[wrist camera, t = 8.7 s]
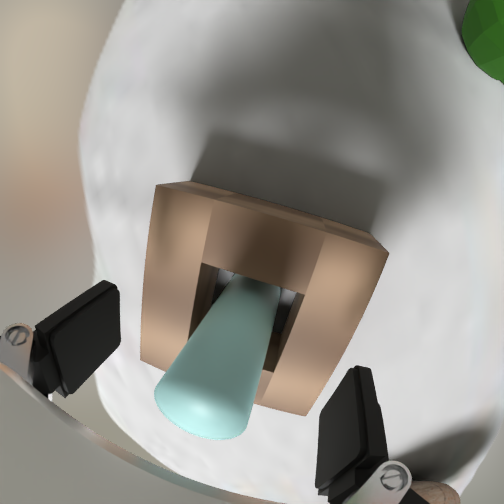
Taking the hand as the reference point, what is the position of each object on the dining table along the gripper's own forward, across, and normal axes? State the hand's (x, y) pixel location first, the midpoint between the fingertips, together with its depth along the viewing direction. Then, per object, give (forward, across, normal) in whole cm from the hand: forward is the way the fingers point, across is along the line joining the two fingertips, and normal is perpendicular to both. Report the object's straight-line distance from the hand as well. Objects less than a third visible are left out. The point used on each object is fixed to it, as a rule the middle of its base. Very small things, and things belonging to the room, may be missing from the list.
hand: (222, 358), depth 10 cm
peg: (+8, 0, +1) cm, 8 cm away
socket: (+8, 0, +1) cm, 8 cm away
